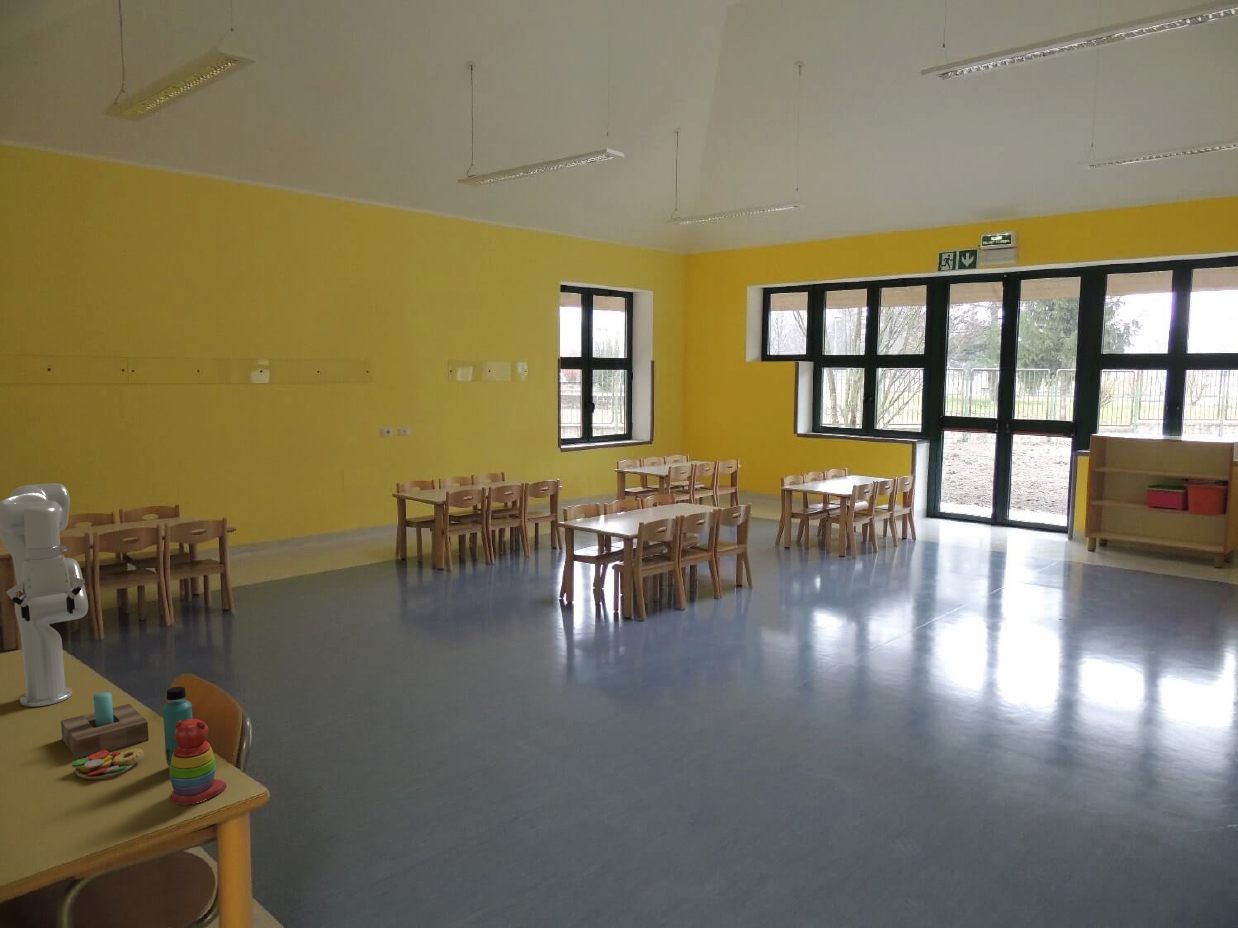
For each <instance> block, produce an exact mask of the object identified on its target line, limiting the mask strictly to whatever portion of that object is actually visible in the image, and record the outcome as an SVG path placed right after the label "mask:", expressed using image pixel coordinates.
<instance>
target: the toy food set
mask: <svg viewBox="0 0 1238 928" xmlns="http://www.w3.org/2000/svg"><path fill="white" fill-rule="evenodd" d="M144 755H145V754H144V751H143V750H142V749H141V748H132V749H128V750H126V751H123V752H120V751H114V752H111V753H110V751H106V750H102V751H99V752H97V753H94V754H92V755H90V756H89V757H86V758H82V759H76V760H74V761H72V762H71V767H72V768H73V769H74V768H75V774H76V775H77V776H78V777H80V778H81V779H85V780H92V781H93V780H94V781H95V780H103V779H109V778H112V777H116V776H119V775H121V774H123V773H126V772H127V771H129V770H130V769H132V767H134V765H136V763H137V762H139V761H140V760H141V759H142V758H143V757H144Z"/></svg>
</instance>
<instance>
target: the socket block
mask: <svg viewBox="0 0 1238 928" xmlns="http://www.w3.org/2000/svg"><path fill="white" fill-rule="evenodd" d="M113 720H114V723H112V724H108V725H104V726H100V727H96V722H95V711H94V712H91V713H87V714H82V715H78V716H74V717H71V718H66V719H63V720H60V726H61V728H60V729H61V738H62V741H63V742H64V743H65V745H66V746H67V747H68V749H69V750H70V752H71V753H72V754H73V756H74V757H75V758H76V760H78V759H82V758H87V757H89V756H90V755H92V754H94V753H97V752H99V751H102V750H106V751H108V752H111V751H114V750H118V749H122V748H124V747H129V746H132V745H136V744H139V743H143V742H146V741H149V739H150V738H149V725H148V721H147V719H146V718H145V717H143V715H141V714H140V712H139V711H137V709H135V707H134V706H132V704H130V703H127V704H123V705H120V706H119V705H118V706H114V707H113Z"/></svg>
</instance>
